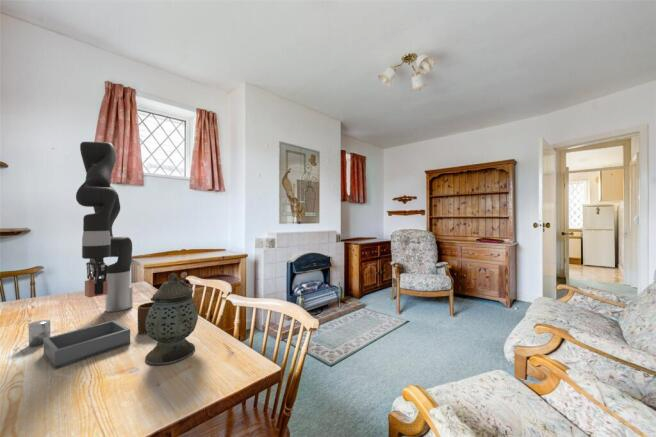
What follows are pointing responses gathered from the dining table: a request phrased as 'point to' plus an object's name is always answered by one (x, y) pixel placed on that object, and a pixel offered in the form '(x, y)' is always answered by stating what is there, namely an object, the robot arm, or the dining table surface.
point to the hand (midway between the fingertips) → (96, 292)
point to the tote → (85, 343)
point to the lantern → (171, 322)
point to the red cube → (91, 288)
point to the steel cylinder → (38, 332)
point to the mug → (143, 316)
